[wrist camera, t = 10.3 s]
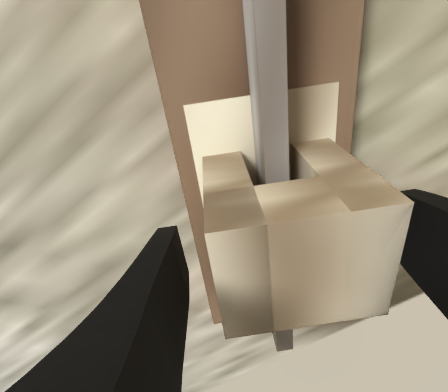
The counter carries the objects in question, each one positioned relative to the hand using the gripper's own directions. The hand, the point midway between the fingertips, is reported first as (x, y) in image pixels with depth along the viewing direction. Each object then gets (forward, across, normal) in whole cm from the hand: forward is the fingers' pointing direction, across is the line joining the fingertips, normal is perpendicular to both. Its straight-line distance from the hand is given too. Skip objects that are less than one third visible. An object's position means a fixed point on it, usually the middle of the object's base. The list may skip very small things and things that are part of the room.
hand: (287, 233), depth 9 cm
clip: (+3, 0, 0) cm, 3 cm away
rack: (+5, 0, 0) cm, 5 cm away
